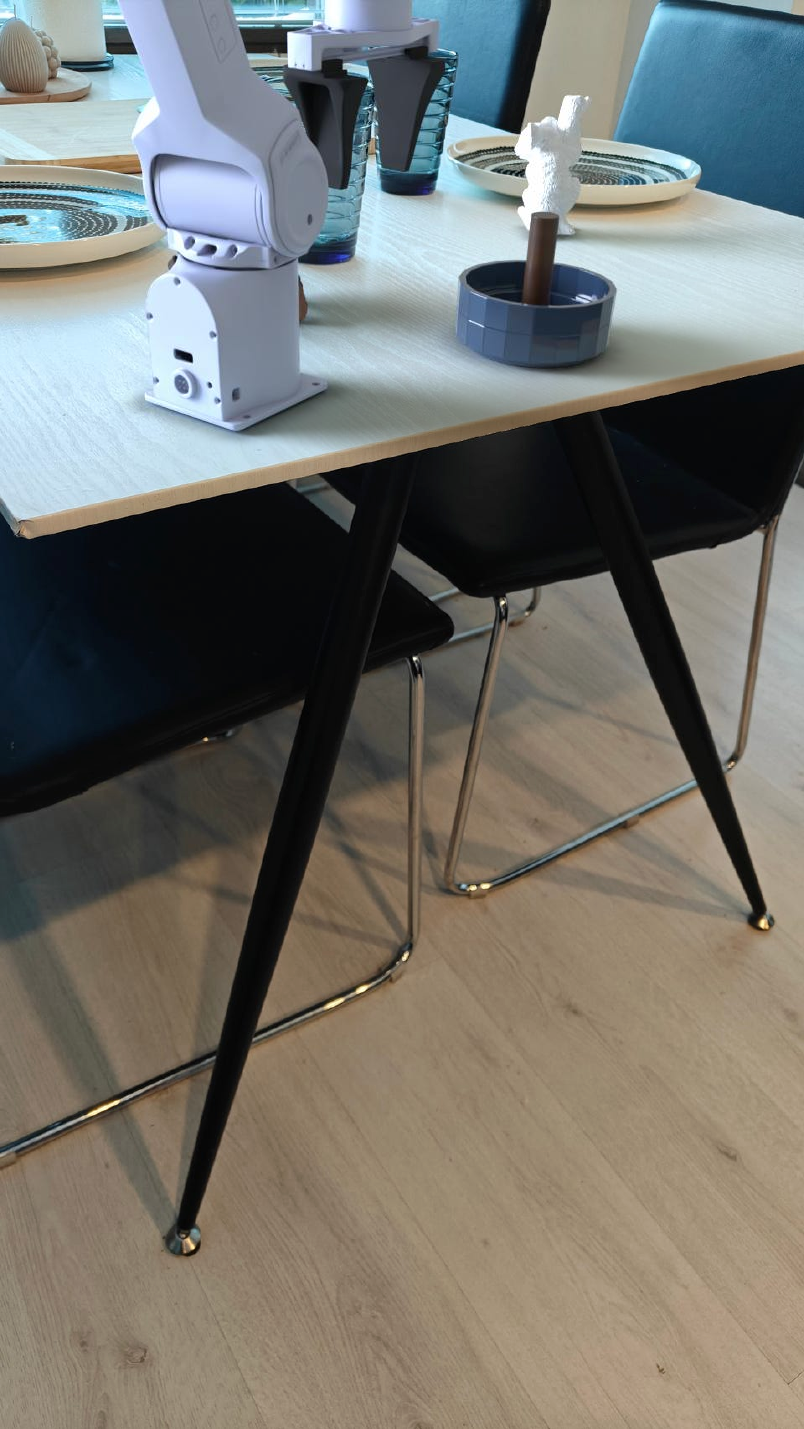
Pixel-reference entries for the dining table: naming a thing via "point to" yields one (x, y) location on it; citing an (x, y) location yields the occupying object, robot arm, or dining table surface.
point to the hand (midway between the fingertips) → (365, 178)
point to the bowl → (534, 315)
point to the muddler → (540, 258)
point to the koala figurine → (553, 162)
